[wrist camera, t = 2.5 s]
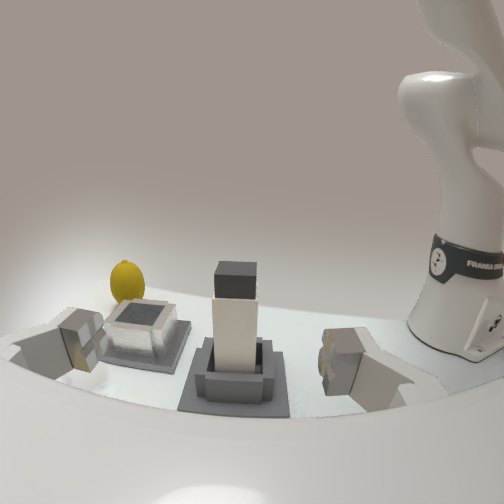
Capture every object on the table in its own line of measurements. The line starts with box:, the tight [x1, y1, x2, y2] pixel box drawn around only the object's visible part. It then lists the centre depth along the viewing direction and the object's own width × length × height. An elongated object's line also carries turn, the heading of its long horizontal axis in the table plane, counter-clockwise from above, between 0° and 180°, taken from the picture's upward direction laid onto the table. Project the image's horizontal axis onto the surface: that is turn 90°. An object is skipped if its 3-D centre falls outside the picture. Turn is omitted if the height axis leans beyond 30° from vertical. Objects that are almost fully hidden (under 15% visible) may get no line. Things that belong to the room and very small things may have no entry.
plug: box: [212, 261, 258, 374], centre depth 25 cm, size 4×4×12 cm
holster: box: [177, 337, 290, 419], centre depth 26 cm, size 10×10×4 cm
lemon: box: [110, 260, 145, 303], centre depth 40 cm, size 6×6×8 cm
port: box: [97, 299, 191, 374], centre depth 32 cm, size 10×10×4 cm
